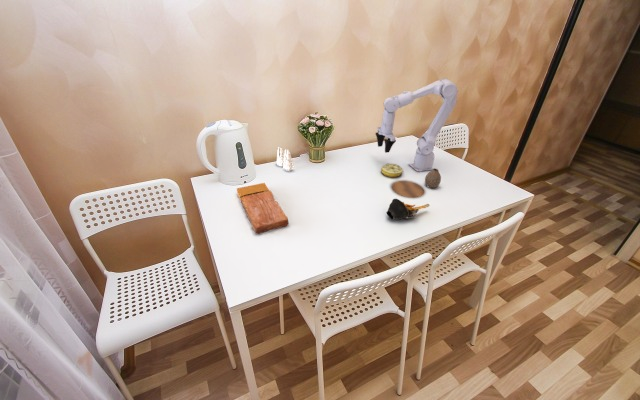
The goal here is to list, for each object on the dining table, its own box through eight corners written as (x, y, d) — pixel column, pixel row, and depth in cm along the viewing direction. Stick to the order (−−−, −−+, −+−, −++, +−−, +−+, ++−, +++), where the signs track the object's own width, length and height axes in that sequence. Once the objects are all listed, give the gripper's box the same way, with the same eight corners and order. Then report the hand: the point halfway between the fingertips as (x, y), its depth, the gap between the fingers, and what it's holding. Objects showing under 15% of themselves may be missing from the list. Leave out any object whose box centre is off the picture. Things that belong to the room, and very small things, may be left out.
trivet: (412, 179, 143) (412, 179, 143) (430, 195, 131) (431, 195, 131) (385, 183, 139) (385, 183, 139) (402, 200, 127) (402, 199, 127)
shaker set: (295, 171, 146) (294, 151, 140) (288, 173, 144) (287, 153, 138) (282, 162, 154) (281, 143, 148) (275, 164, 152) (274, 144, 145)
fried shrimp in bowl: (378, 204, 116) (411, 181, 120) (388, 226, 120) (420, 203, 124) (393, 208, 107) (427, 184, 112) (403, 232, 111) (436, 207, 116)
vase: (436, 191, 134) (441, 174, 129) (421, 186, 137) (426, 170, 132) (440, 185, 139) (445, 168, 134) (425, 180, 142) (430, 164, 137)
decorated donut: (405, 173, 148) (407, 166, 146) (394, 180, 141) (396, 174, 139) (388, 166, 154) (389, 160, 152) (377, 173, 147) (378, 166, 145)
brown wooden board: (265, 188, 132) (265, 181, 130) (289, 226, 110) (289, 219, 108) (237, 194, 127) (236, 187, 125) (255, 235, 105) (254, 228, 103)
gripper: (373, 119, 146) (370, 144, 154) (387, 129, 135) (383, 155, 142) (385, 118, 148) (381, 143, 156) (400, 128, 137) (395, 154, 144)
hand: (383, 149), depth 149 cm, fingers open, 7 cm apart
